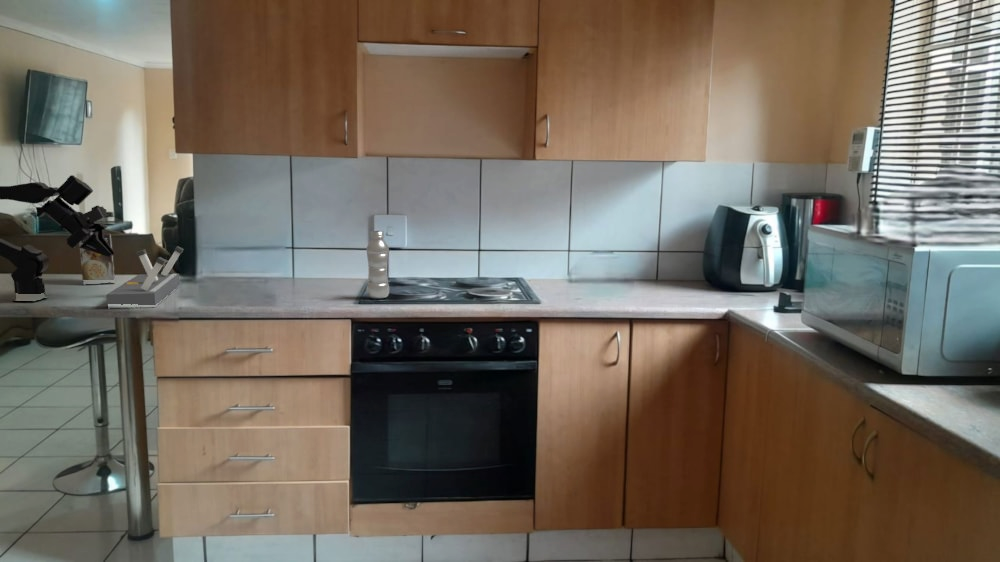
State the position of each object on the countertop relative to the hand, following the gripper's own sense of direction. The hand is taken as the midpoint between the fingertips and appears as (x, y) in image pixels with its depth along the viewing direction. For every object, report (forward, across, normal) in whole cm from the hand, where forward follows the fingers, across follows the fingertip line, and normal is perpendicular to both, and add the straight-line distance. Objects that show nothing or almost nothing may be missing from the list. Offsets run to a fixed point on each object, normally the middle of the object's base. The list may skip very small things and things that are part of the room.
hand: (112, 254), depth 208 cm
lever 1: (+13, -13, -2) cm, 19 cm away
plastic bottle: (+62, -15, -44) cm, 77 cm away
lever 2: (+13, +13, -2) cm, 19 cm away
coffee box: (+1, +28, +17) cm, 33 cm away
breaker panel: (+15, 0, +3) cm, 15 cm away
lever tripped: (+13, 0, -2) cm, 14 cm away
